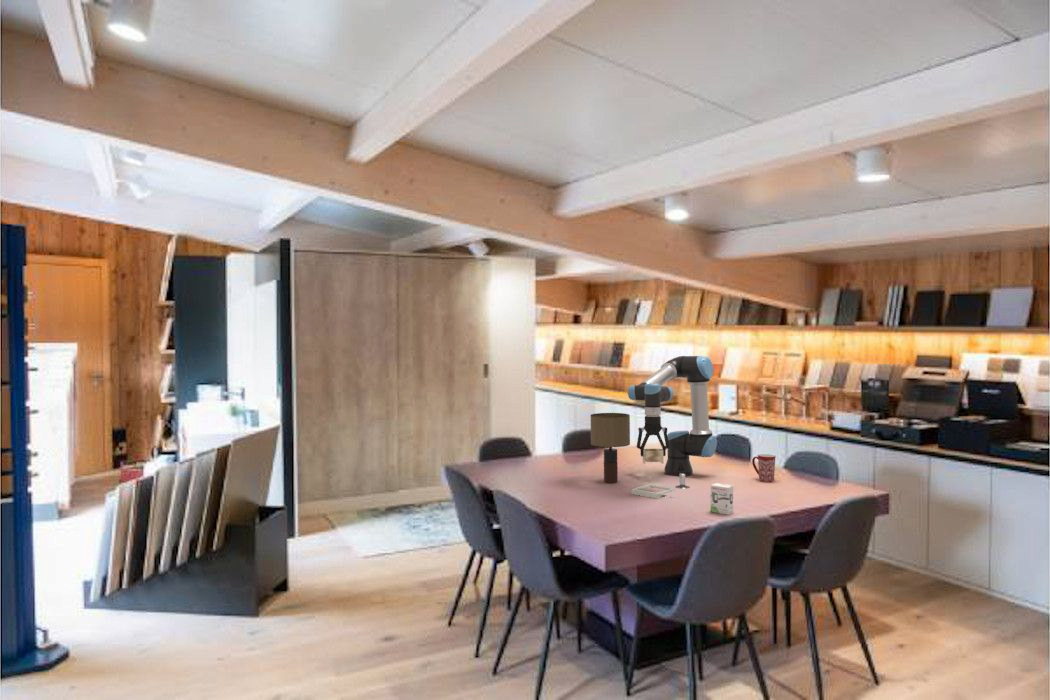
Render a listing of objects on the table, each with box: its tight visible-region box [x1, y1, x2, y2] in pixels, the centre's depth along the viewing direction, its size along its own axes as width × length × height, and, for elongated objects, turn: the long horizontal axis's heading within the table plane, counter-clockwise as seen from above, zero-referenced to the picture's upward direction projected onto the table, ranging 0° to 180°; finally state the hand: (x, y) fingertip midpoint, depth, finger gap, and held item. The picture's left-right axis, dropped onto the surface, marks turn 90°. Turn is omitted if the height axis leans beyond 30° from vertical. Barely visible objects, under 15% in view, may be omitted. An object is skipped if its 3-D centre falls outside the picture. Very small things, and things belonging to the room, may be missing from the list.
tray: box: [630, 484, 677, 500], centre depth 344 cm, size 15×15×2 cm
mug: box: [751, 453, 777, 483], centre depth 371 cm, size 13×9×14 cm
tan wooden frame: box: [644, 448, 664, 463], centre depth 344 cm, size 8×9×5 cm
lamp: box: [590, 412, 631, 484], centre depth 371 cm, size 20×20×35 cm
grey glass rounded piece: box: [674, 473, 690, 490], centre depth 351 cm, size 7×7×8 cm
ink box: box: [710, 482, 734, 515], centre depth 307 cm, size 9×5×12 cm, turn 48°
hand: (653, 463), depth 343 cm, fingers closed on tan wooden frame, 8 cm apart
